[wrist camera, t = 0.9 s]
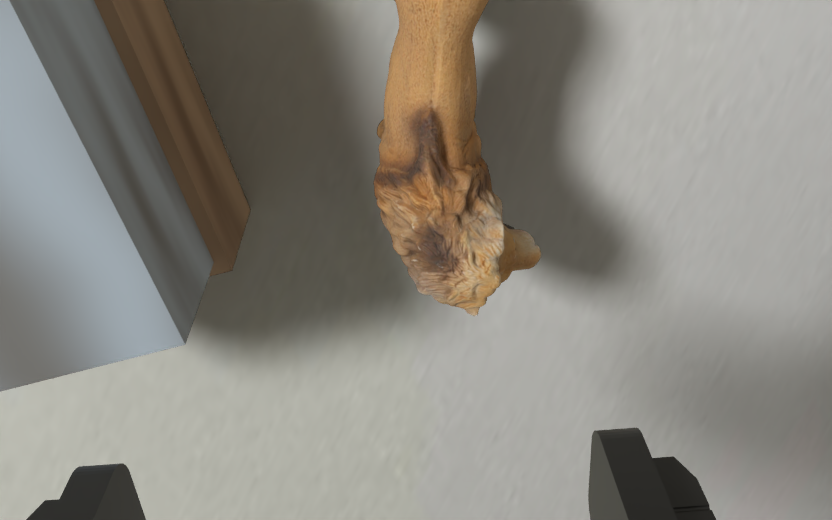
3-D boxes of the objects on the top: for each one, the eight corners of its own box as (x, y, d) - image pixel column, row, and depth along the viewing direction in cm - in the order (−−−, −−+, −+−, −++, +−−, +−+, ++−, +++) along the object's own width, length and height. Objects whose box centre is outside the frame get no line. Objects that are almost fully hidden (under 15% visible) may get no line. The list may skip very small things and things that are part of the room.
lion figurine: (511, 203, 33) (557, 322, 25) (387, 221, 33) (394, 345, 25) (479, -197, 25) (530, -207, 18) (320, -172, 25) (299, -171, 18)
